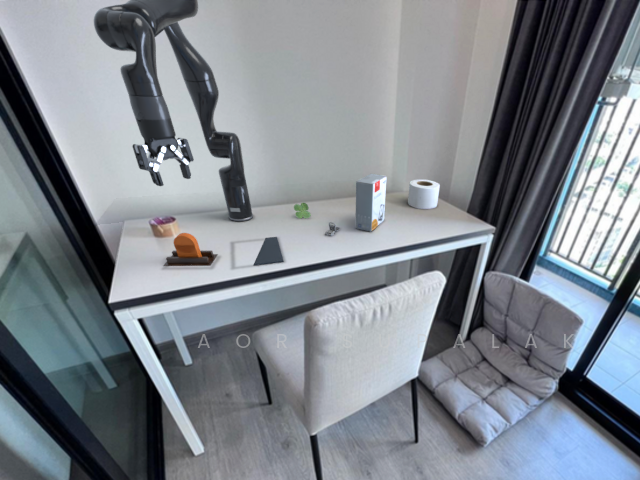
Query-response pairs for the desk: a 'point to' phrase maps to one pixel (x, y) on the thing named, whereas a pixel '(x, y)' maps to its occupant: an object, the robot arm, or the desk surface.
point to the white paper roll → (423, 194)
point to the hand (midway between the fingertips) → (174, 181)
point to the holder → (191, 259)
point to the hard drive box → (370, 201)
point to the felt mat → (269, 252)
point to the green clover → (302, 210)
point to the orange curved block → (187, 246)
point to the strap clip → (332, 229)
